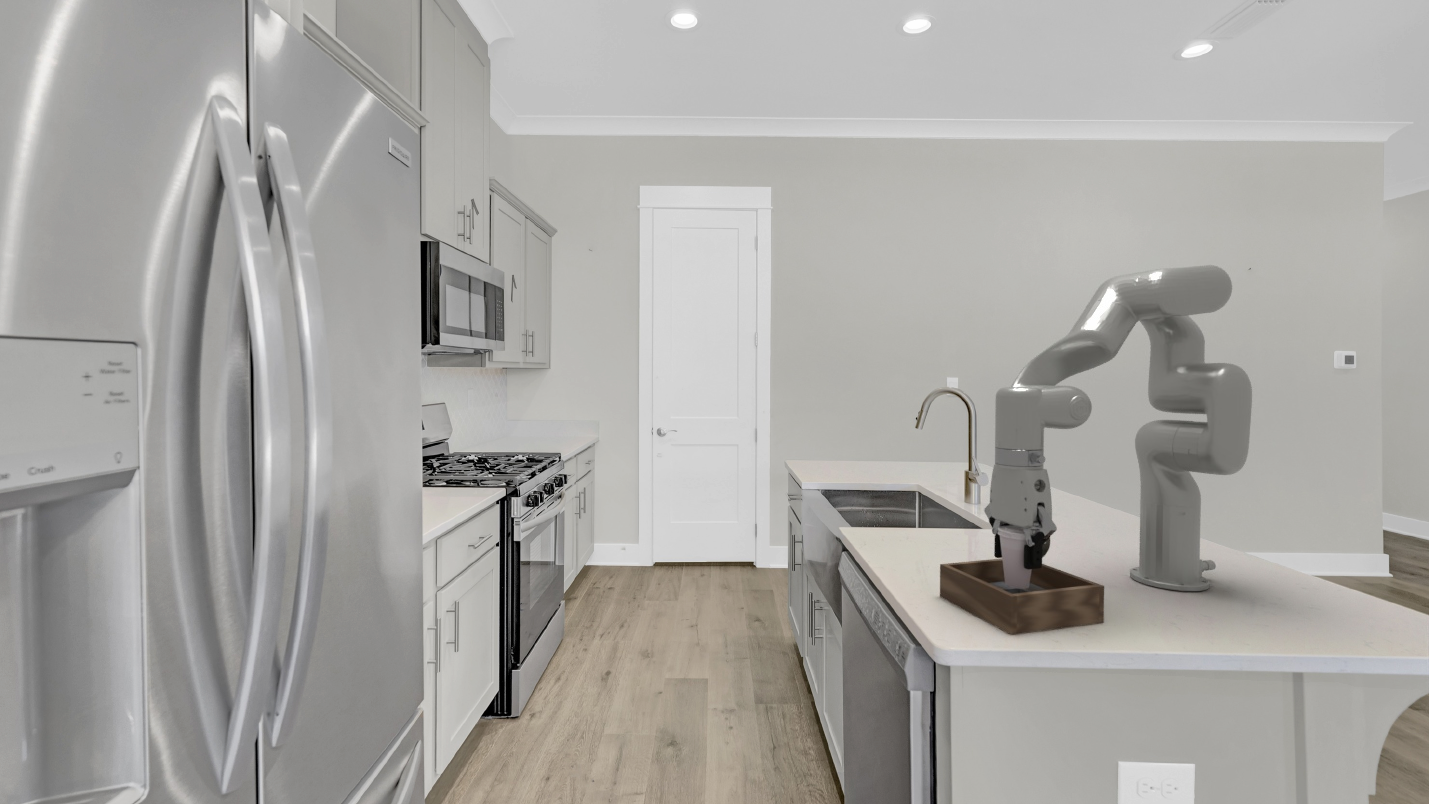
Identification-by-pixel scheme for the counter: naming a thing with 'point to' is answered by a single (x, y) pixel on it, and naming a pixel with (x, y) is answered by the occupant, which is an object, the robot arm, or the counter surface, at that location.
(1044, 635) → the counter surface
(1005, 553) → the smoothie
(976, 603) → the wooden box
